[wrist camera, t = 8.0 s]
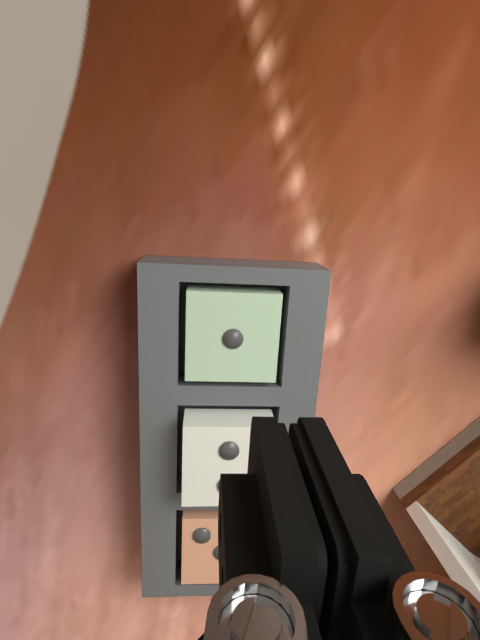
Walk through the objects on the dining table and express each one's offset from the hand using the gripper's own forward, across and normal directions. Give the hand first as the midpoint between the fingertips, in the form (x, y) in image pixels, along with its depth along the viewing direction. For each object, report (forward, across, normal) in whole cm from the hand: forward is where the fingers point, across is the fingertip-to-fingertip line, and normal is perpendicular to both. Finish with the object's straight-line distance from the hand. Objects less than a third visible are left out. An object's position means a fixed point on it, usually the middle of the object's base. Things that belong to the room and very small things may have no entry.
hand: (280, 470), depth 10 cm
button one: (+14, 0, +1) cm, 14 cm away
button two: (+13, 0, +8) cm, 15 cm away
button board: (+15, 0, +8) cm, 17 cm away
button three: (+14, 0, +15) cm, 20 cm away
